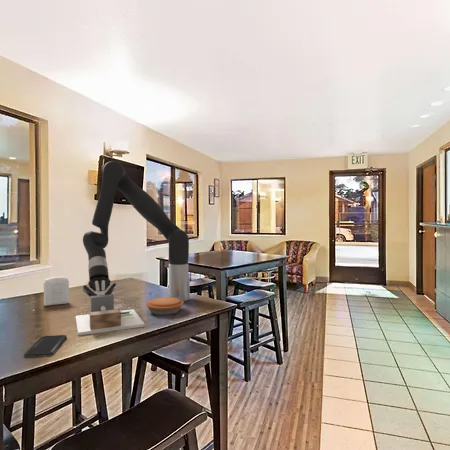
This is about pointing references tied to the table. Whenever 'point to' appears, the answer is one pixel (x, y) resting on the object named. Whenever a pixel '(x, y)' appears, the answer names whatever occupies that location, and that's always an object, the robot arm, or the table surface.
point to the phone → (45, 346)
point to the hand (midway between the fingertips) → (101, 306)
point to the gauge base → (126, 323)
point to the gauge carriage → (103, 303)
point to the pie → (164, 305)
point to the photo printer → (56, 291)
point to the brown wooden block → (105, 319)
